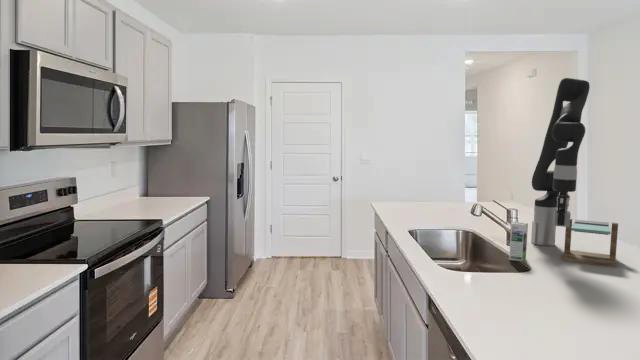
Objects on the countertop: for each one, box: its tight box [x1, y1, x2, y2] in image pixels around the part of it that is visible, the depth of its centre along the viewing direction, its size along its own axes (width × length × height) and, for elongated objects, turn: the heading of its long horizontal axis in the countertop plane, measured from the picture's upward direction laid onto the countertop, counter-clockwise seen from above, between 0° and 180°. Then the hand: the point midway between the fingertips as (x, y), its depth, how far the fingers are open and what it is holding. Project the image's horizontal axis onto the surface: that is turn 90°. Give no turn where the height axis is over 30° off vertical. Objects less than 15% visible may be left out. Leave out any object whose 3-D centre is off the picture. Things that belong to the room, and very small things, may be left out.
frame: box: [561, 218, 619, 269], centre depth 187 cm, size 19×18×14 cm
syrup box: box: [508, 221, 529, 262], centre depth 184 cm, size 6×6×14 cm
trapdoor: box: [571, 219, 612, 236], centre depth 188 cm, size 20×13×4 cm, turn 149°
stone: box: [553, 210, 571, 228], centre depth 173 cm, size 5×5×5 cm
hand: (561, 223), depth 173 cm, fingers closed on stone, 5 cm apart
